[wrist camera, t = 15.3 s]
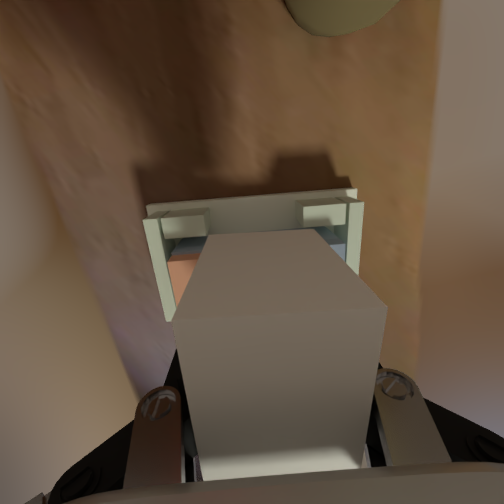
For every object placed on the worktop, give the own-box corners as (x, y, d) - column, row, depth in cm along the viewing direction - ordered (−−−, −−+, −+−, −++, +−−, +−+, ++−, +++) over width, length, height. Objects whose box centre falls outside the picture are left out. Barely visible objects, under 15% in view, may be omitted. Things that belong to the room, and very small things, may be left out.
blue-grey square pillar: (323, 269, 23) (342, 296, 18) (190, 280, 23) (177, 310, 18) (324, 225, 21) (345, 243, 17) (182, 238, 21) (166, 259, 17)
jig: (345, 287, 25) (364, 310, 21) (171, 301, 24) (158, 327, 21) (352, 187, 21) (375, 193, 17) (150, 203, 21) (130, 213, 17)
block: (307, 384, 14) (349, 535, 8) (227, 389, 14) (216, 545, 8) (313, 228, 11) (387, 307, 5) (209, 234, 11) (171, 320, 5)
